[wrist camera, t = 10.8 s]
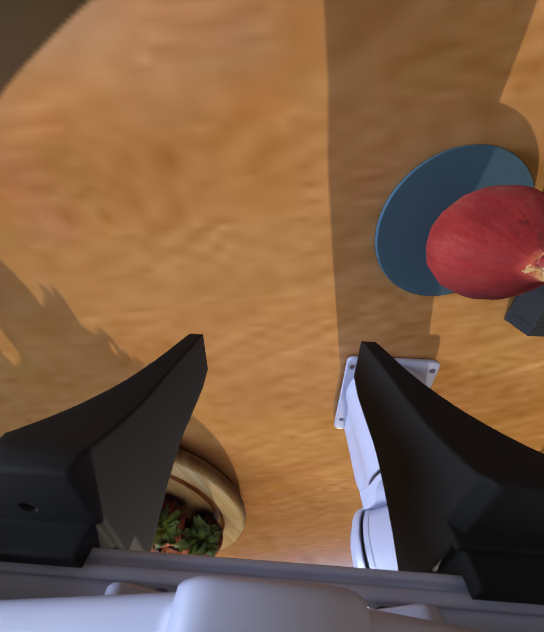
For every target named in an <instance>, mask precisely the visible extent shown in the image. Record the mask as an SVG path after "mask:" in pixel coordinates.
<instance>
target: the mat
mask: <svg viewBox="0 0 544 632" xmlns="http://www.w3.org/2000/svg"><path fill="white" fill-rule="evenodd" d="M497 185H524V186H531V187H533V188H535V187H534V182H533V179H532V176H531V173H530V172H529V170H528V168H527V166H526V165H525V164H524V163H523V162H522V160H521V159H520V158H519V157H517V156H516V155H515V154H513V153H512V152H510V151H508V150H506V149H504V148H501V147H497V146H493V145H485V144H477V145H465V146H460V147H455V148H452V149H449V150H446V151H443V152H441V153H439V154H437V155H435V156H433V157H431V158H429V159H428V160H426V161H424V162H423V163H421V164H420V165H419V166H417V167H416V168H415V169H413V170H412V171H411V172H410V173H409V174H408V175H407V176H406V177H405V178H404V179H403V180H402V181H401V182H400V183H399V184H398V185H397V187H396V188H395V189H394V191H393V192H392V193H391V195H390V196H389V198H388V200H387V201H386V203H385V205H384V207H383V209H382V212H381V214H380V217H379V220H378V223H377V227H376V234H375V250H376V256H377V259H378V262H379V265H380V267H381V269H382V270H383V272H384V273H385V275H386V276H387V277H388V278H389V279H390V280H391V281H392V282H393V283H394V284H395V285H397V286H398V287H400V288H401V289H403V290H405V291H408V292H410V293H413V294H418V295H425V296H439V295H446V294H451V293H455V292H453V291H451V290H449V289H447V288H445V287H443V286H442V285H440V284H439V283H438V281H437V279H436V278H435V276H434V275H433V273H432V272H431V270H430V268H429V267H428V265H427V259H426V244H427V240H428V237H429V233H430V230H431V227H432V225H433V224H434V223H435V221H436V220H437V219H438V217H439V216H440V215H441V213H442V212H443V211H444V210H446V209H447V208H448V207H449V206H451V205H452V204H453V203H455V202H456V201H457V200H459V199H460V198H461V197H463V196H464V195H466V194H469V193H471V192H474V191H477V190H479V189H482V188H484V187H490V186H497Z"/></svg>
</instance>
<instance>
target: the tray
mask: <svg viewBox="0 0 544 632" xmlns="http://www.w3.org/2000/svg"><path fill="white" fill-rule="evenodd" d="M504 319H505V320H506V321H508V322H509V323H510V324H512V325H513V326H515V327H516V328H517V329H519V330H520V331H522V332H523V333H524V334H526V335H527V336H544V285H542V286H540V287H538V288H536V289H534V290H532V291H529V292H526V293H523V294H521V295H517V296H516V298H515V300H514V301H513V303H512V305H511V307H510V309H509V311H508V313H507V314H506V316H505V318H504Z"/></svg>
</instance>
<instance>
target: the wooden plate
mask: <svg viewBox="0 0 544 632" xmlns="http://www.w3.org/2000/svg"><path fill="white" fill-rule="evenodd" d="M245 519H246V513H245V507H244V504H243V501H242V499H241V496H240V494H239V493H238V491H237V489H236V488H235V487H234V486H233V484H232V483H231V482H230V481H229V480H228V479H227V478H226V477H225V476H224V475H222V474H221V473H220V472H219V471H218V470H216V469H215V468H214V467H212V466H211V465H209V464H208V463H206V462H205V461H203V460H201V459H200V458H198V457H196V456H195V455H193V454H191V453H189V452H187V451H185V450H182V449H180V448H178V452H177V455H176V458H175V461H174V465H173V468H172V472H171V475H170V479H169V482H168V486H167V489H166V493H165V497H164V501H163V504H162V508H161V512H160V516H159V520H158V524H157V528H156V532H155V536H154V541H153V545H152V549H151V552H161V553H174V554H187V555H200V556H213V557H214V556H215V555H216V554H217V553H218V552H219V551H221V550H224V549H225V548H227V547H229V546H230V545H231V544H233V543H234V542H235V541H236V540H237V539H238V537H239V536H240V534H241V532H242V530H243V528H244V525H245Z"/></svg>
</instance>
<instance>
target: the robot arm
mask: <svg viewBox="0 0 544 632" xmlns="http://www.w3.org/2000/svg"><path fill="white" fill-rule="evenodd" d="M351 365H354V366H352V367H351ZM439 367H440V364H439V362H438V361H437V360H429V359H407V358H393V357H392V356H391V355H390V354H389V353H387V352H386V351H385V350H384V349H383V348H382V347H381V346H380V345H378V344H377V343H376V342H364V341H362V342H361V346H360V350H359V355H358V356H351V357H349V358H348V359H347V363H346V368H345V373H344V378H343V383H342V388H341V392H340V397H339V402H338V407H337V412H336V417H335V422H334V424H335V427H336V428H340V429H345V433H346V438H347V443H348V447H349V452H350V457H351V461H352V466H353V471H354V475H355V480H356V483H357V487H358V489H359V491H360V496H361V500H362V505H363V508H361V509H359V510H358V511H357V512H356V513H355V515H354V517H353V522H352V529H351V554H352V560H353V565H354V567H343V566H330V565H317V564H304V563H291V562H278V561H265V560H252V559H239V558H226V557H213V556H200V555H187V554H174V553H161V552H151V549H152V545H153V541H154V536H155V532H156V528H157V524H158V520H159V516H160V512H161V508H162V504H163V501H164V497H165V493H166V489H167V486H168V482H169V479H170V475H171V472H172V468H173V465H174V461H175V458H176V455H177V452H178V448H179V445H180V442H181V439H182V436H183V434H184V431H185V429H186V426H187V424H188V422H189V419H190V417H191V415H192V412H193V410H194V407H195V405H196V403H197V400H198V398H199V396H200V393H201V391H202V388H203V385H204V381H205V377H206V373H207V370H208V367H207V360H206V353H205V346H204V339H203V334H189V335H188V336H186V337H185V338H184V339H182V340H181V341H180V342H179V343H177V344H176V345H175V346H173V347H172V348H171V349H170V350H168V351H167V352H166V353H164V354H163V355H162V356H160V357H159V358H158V359H156V360H155V361H154V362H152V363H151V364H149V365H148V366H146V367H145V368H144V369H142V370H141V371H139V372H138V373H136V374H135V375H133V376H132V377H130V378H128V379H127V380H125V381H123V382H122V383H120V384H118V385H116V386H115V387H113V388H111V389H109V390H107V391H105V392H103V393H101V394H99V395H97V396H95V397H93V398H91V399H89V400H88V401H85V402H83V403H81V404H79V405H77V406H75V407H72V408H70V409H68V410H65V411H63V412H61V413H58V414H56V415H53V416H51V417H48V418H46V419H43V420H41V421H38V422H35V423H32V424H30V425H27V426H24V427H21V428H19V429H16V430H13V431H10V432H7V433H5V434H4V435H3V436H2V437H1V438H0V632H544V454H543V453H540V452H538V451H536V450H534V449H532V448H529V447H527V446H525V445H523V444H521V443H519V442H517V441H516V440H514V439H512V438H510V437H508V436H506V435H504V434H502V433H500V432H498V431H496V430H495V429H493V428H491V427H489V426H487V425H485V424H484V423H482V422H480V421H479V420H477V419H475V418H474V417H472V416H470V415H469V414H467V413H465V412H464V411H462V410H460V409H459V408H457V407H456V406H454V405H453V404H451V403H450V402H448V401H447V400H445V399H444V398H442V397H441V396H440V395H438V394H437V393H435V392H434V391H433V390H431V389H430V388H431V386H432V383H433V381H434V379H435V376H436V374H437V372H438V370H439ZM431 369H432V370H431Z"/></svg>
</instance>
